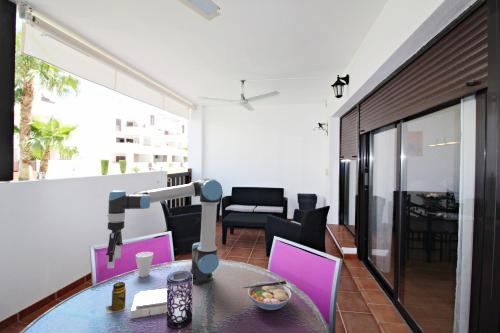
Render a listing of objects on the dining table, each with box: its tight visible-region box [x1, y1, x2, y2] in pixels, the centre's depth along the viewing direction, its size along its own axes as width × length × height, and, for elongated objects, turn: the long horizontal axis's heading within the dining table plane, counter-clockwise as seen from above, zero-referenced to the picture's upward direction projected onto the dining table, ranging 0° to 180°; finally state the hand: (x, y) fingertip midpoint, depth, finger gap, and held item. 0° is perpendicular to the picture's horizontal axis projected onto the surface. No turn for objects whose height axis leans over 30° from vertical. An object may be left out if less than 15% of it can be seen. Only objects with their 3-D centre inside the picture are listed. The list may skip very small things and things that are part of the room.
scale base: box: [130, 293, 167, 319], centre depth 123 cm, size 18×17×4 cm
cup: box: [135, 251, 154, 278], centre depth 159 cm, size 10×10×14 cm
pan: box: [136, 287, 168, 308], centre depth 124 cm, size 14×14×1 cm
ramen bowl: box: [243, 280, 292, 311], centre depth 127 cm, size 25×23×8 cm
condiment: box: [105, 281, 127, 315], centre depth 121 cm, size 7×8×12 cm
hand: (114, 262), depth 124 cm, fingers open, 13 cm apart
